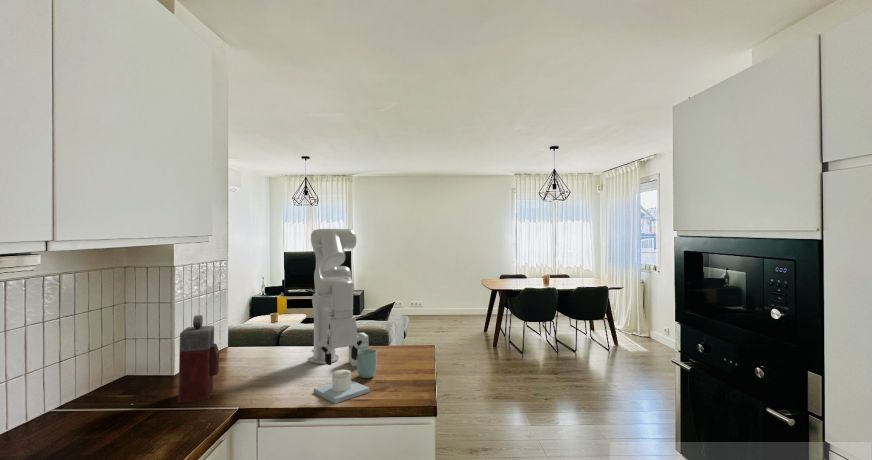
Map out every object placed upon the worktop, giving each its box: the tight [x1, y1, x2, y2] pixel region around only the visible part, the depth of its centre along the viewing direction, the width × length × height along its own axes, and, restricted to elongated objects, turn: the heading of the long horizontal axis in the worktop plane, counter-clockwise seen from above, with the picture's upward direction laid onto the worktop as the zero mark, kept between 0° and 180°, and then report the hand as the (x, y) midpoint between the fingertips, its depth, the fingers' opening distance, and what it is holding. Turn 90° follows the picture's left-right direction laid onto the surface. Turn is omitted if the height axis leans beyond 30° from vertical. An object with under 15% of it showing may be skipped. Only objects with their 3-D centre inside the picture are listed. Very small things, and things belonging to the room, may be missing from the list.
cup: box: [356, 348, 378, 379], centre depth 157 cm, size 8×8×10 cm
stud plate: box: [313, 379, 370, 404], centre depth 141 cm, size 14×14×6 cm
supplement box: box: [348, 332, 369, 367], centre depth 175 cm, size 7×7×13 cm
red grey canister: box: [177, 314, 220, 404], centre depth 138 cm, size 9×11×28 cm
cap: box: [331, 369, 352, 392], centre depth 141 cm, size 6×6×6 cm
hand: (341, 361), depth 142 cm, fingers open, 9 cm apart
